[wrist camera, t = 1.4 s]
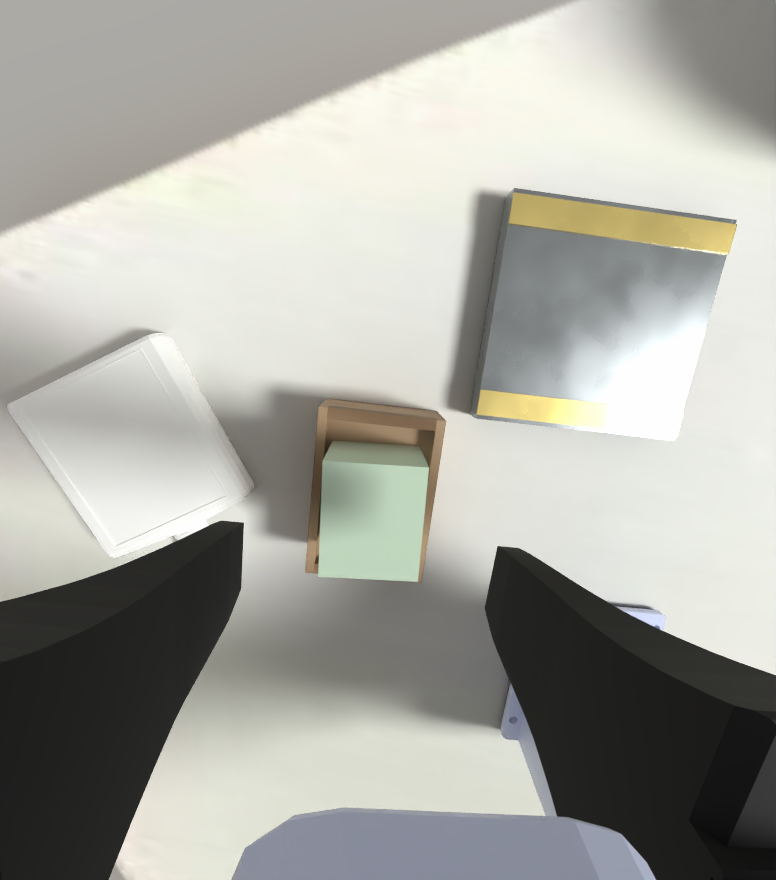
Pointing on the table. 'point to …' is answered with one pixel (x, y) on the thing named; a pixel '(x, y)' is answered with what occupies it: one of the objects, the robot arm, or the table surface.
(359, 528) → the pale green block
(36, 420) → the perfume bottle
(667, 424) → the dock
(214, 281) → the table surface
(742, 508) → the table surface
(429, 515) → the open wooden box
